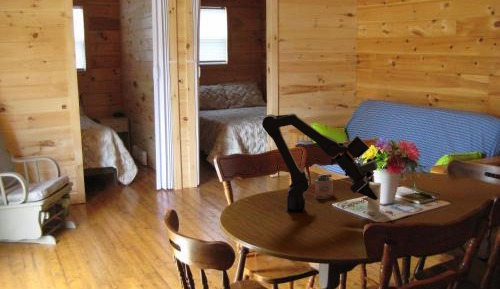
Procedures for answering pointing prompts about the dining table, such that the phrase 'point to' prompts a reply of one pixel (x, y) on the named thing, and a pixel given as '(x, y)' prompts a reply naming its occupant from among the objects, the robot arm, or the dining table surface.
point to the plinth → (373, 214)
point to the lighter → (323, 186)
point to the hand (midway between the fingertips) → (377, 197)
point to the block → (373, 204)
